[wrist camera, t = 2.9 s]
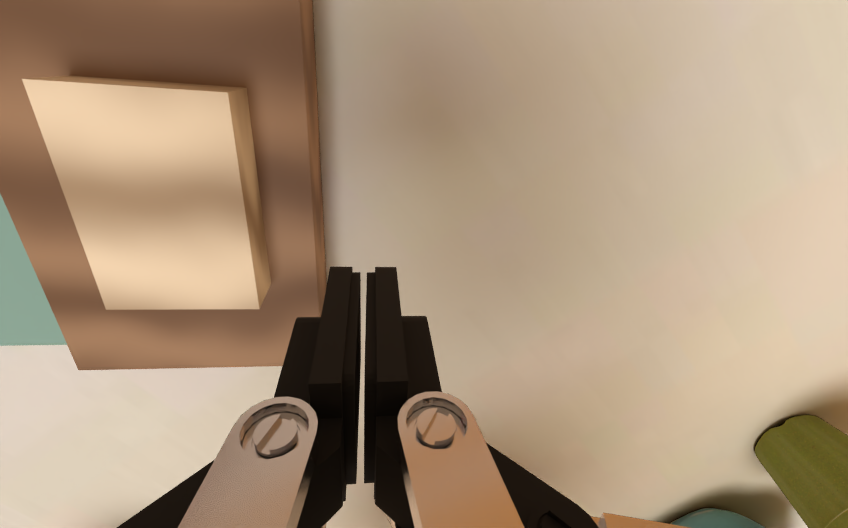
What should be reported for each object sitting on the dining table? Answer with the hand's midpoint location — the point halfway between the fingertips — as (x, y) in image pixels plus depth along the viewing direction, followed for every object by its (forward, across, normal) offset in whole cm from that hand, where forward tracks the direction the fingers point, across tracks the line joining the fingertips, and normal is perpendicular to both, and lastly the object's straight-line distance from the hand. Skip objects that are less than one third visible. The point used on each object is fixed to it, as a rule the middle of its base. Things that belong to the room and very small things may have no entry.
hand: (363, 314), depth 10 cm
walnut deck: (+15, +10, +1) cm, 18 cm away
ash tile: (+11, +9, +1) cm, 14 cm away
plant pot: (+14, -44, +27) cm, 54 cm away
